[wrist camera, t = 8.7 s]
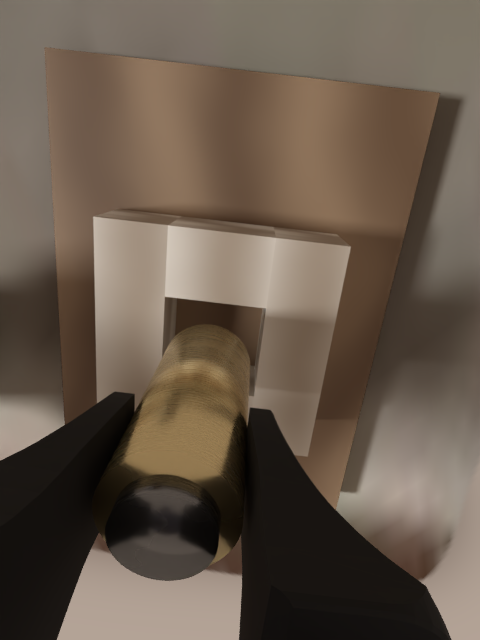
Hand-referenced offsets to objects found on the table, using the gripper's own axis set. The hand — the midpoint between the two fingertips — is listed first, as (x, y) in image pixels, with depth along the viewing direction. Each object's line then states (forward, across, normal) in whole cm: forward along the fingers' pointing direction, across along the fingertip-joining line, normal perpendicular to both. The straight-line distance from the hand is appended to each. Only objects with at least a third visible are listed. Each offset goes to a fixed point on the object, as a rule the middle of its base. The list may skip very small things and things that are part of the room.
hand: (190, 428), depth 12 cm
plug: (+4, 0, 0) cm, 4 cm away
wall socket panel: (+10, 0, 0) cm, 10 cm away
